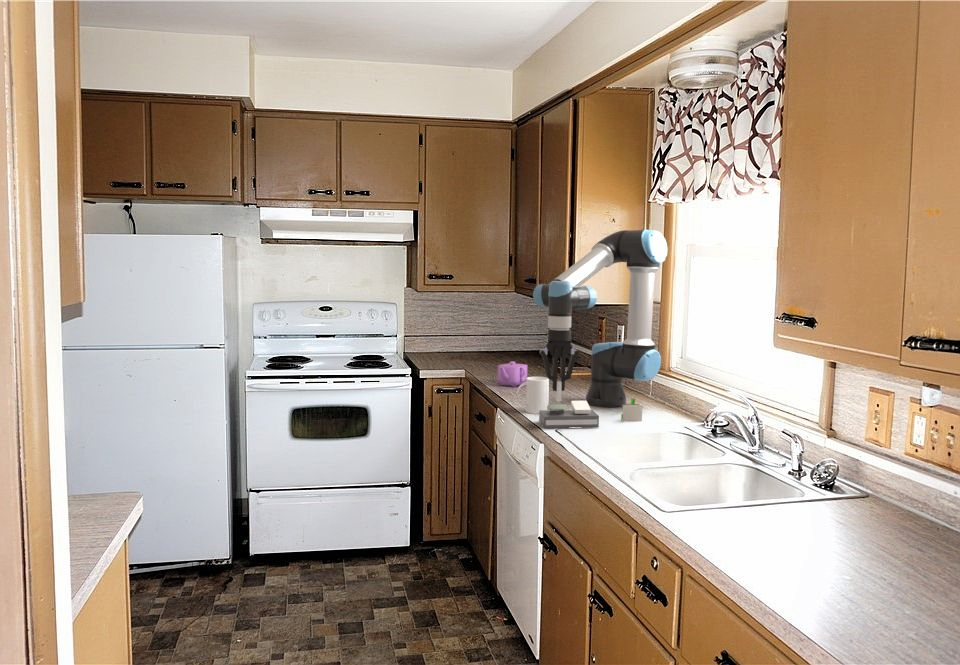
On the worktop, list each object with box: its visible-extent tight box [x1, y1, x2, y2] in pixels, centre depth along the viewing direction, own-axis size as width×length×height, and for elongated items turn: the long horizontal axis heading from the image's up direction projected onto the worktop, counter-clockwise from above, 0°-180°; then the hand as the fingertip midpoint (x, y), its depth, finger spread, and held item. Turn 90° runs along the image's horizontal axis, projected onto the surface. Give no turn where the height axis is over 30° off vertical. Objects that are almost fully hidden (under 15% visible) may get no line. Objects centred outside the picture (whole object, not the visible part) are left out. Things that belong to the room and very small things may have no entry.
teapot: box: [496, 360, 528, 388], centre depth 342 cm, size 18×14×10 cm
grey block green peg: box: [620, 397, 643, 422], centre depth 276 cm, size 4×7×8 cm, turn 102°
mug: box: [516, 376, 550, 415], centre depth 289 cm, size 12×8×12 cm
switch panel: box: [538, 409, 600, 430], centre depth 268 cm, size 18×10×5 cm, turn 95°
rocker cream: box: [570, 400, 592, 414], centre depth 268 cm, size 5×7×1 cm
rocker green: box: [547, 404, 568, 410], centre depth 268 cm, size 5×7×1 cm
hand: (558, 400), depth 264 cm, fingers closed
